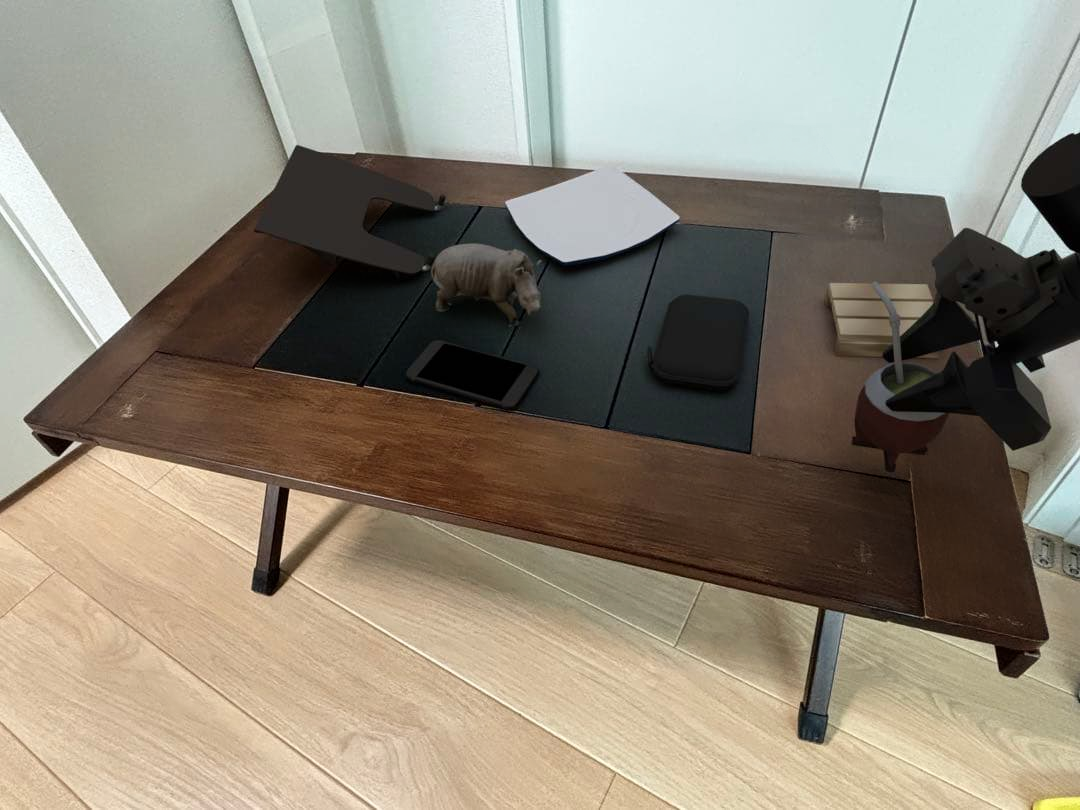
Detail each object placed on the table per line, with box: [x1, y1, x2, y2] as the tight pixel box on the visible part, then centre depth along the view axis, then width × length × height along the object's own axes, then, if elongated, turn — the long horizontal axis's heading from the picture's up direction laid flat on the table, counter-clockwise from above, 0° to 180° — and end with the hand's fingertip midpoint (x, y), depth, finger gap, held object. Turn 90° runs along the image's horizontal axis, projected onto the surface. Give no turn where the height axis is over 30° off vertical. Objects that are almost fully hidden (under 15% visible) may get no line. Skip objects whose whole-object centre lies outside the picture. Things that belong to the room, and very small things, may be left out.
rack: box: [823, 282, 943, 360], centre depth 83 cm, size 11×10×3 cm
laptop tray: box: [253, 144, 447, 279], centre depth 104 cm, size 23×23×9 cm
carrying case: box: [646, 293, 750, 391], centre depth 83 cm, size 11×3×15 cm
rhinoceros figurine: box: [430, 242, 543, 328], centre depth 90 cm, size 8×14×15 cm
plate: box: [504, 164, 681, 267], centre depth 103 cm, size 20×20×3 cm
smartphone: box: [405, 339, 540, 410], centre depth 84 cm, size 7×15×1 cm, turn 64°
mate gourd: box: [851, 280, 950, 473], centre depth 60 cm, size 8×8×15 cm
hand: (886, 381), depth 60 cm, fingers closed on mate gourd, 5 cm apart
